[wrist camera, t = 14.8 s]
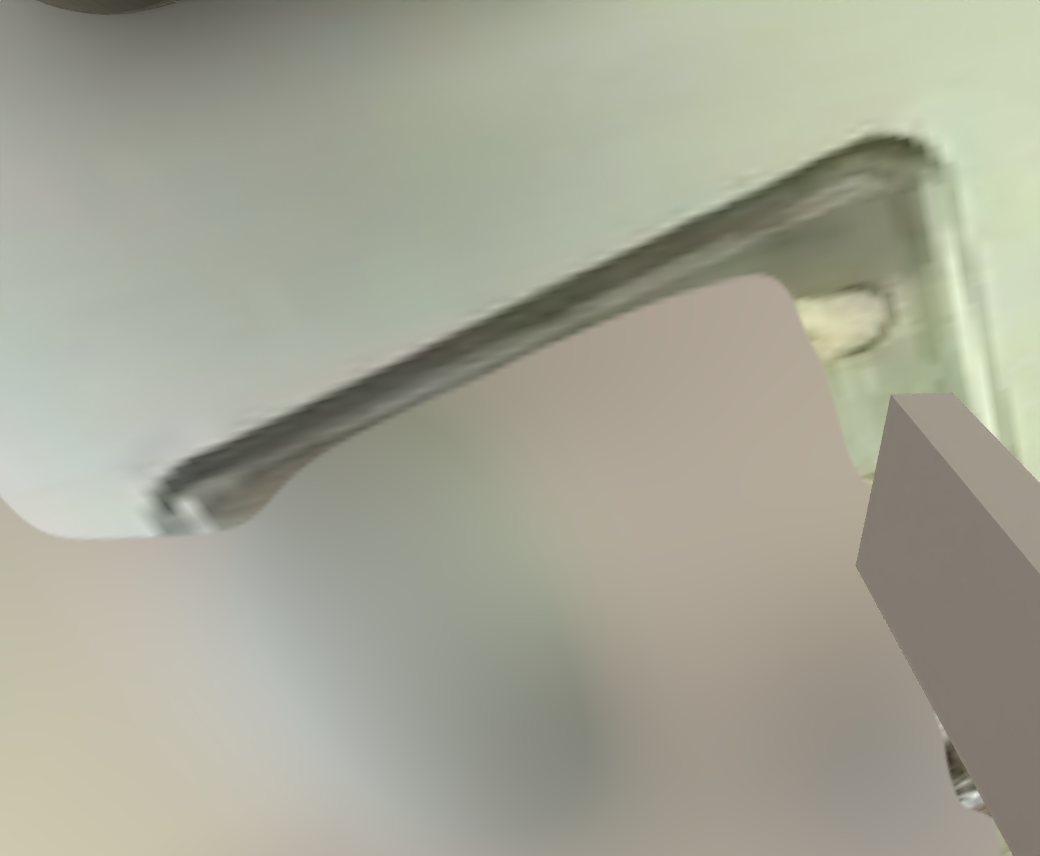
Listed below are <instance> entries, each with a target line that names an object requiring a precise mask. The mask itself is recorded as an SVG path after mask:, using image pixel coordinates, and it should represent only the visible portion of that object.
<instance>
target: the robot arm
mask: <svg viewBox="0 0 1040 856" xmlns="http://www.w3.org/2000/svg"><path fill="white" fill-rule="evenodd" d="M37 1H39V2H42V3H45V4H48V5H51V6H55V7H58V8H62V9H66V10H71V11H76V12H82V13H90V14H105V15H106V14H124V13H132V12H137V11H142V10H147V9H152V8H157V7H161V6H164V5H167V4H170V3H173V2H175V1H178V0H37ZM856 567H857V569H858V571H859V573H860V575H861V576H862V578H863V580H864V582H865V584H866V586H867V588H868V589H869V591H870V593H871V595H872V597H873V598H874V600H875V602H876V604H877V606H878V608H879V610H880V611H881V613H882V615H883V617H884V619H885V621H886V622H887V624H888V626H889V628H890V630H891V632H892V634H893V635H894V637H895V639H896V641H897V643H898V645H899V646H900V648H901V650H902V652H903V654H904V655H905V657H906V659H907V661H908V663H909V665H910V667H911V668H912V670H913V672H914V674H915V676H916V678H917V679H918V681H919V683H920V685H921V687H922V689H923V691H924V692H925V694H926V696H927V698H928V700H929V702H930V704H931V705H932V707H933V709H934V711H935V713H936V715H937V716H938V718H939V720H940V722H941V724H942V726H943V727H944V729H945V731H946V733H947V735H948V737H949V738H950V740H951V742H952V744H953V746H954V748H955V749H956V751H957V753H958V755H959V757H960V759H961V761H962V762H963V764H964V766H965V768H966V770H967V772H968V773H969V775H970V777H971V779H972V781H973V783H974V784H975V786H976V788H977V790H978V792H979V794H980V795H981V797H982V799H983V801H984V803H985V805H986V806H987V808H988V810H989V812H990V814H991V816H992V818H993V819H994V821H995V823H996V825H997V827H998V829H999V830H1000V832H1001V834H1002V836H1003V838H1004V840H1005V841H1006V843H1007V845H1008V847H1009V849H1010V851H1011V852H1012V854H1013V856H1040V483H1039V482H1038V481H1037V480H1036V479H1035V478H1034V477H1033V476H1032V474H1031V473H1030V472H1029V471H1028V470H1027V469H1026V468H1025V467H1024V466H1023V465H1022V464H1021V463H1020V462H1019V461H1018V460H1017V459H1016V458H1015V457H1014V456H1013V455H1012V454H1011V453H1010V452H1009V451H1008V450H1007V449H1006V448H1005V447H1004V446H1003V445H1002V444H1001V442H1000V441H999V440H998V439H997V438H996V437H995V436H994V435H993V434H992V433H991V432H990V431H989V430H988V429H987V428H986V427H985V426H984V425H983V424H982V423H981V422H980V421H979V420H978V419H977V418H976V417H975V416H974V415H973V414H972V413H971V412H970V410H969V409H968V408H967V407H966V406H965V405H964V404H963V403H962V402H961V401H960V400H959V399H958V398H957V397H956V396H955V395H954V394H953V393H922V394H892V395H891V397H890V402H889V407H888V412H887V416H886V421H885V426H884V431H883V436H882V441H881V446H880V450H879V455H878V460H877V465H876V470H875V475H874V480H873V485H872V489H871V494H870V499H869V504H868V509H867V514H866V519H865V524H864V528H863V533H862V538H861V543H860V548H859V553H858V557H857V562H856Z"/></svg>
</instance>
